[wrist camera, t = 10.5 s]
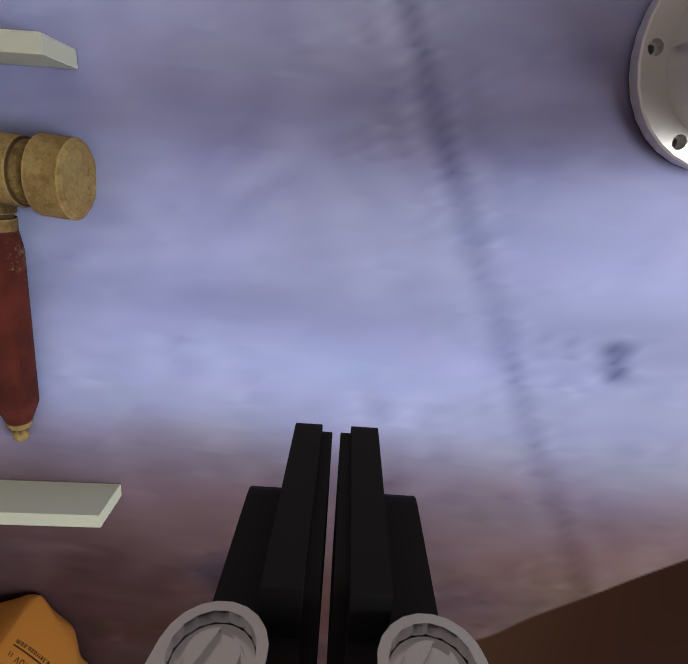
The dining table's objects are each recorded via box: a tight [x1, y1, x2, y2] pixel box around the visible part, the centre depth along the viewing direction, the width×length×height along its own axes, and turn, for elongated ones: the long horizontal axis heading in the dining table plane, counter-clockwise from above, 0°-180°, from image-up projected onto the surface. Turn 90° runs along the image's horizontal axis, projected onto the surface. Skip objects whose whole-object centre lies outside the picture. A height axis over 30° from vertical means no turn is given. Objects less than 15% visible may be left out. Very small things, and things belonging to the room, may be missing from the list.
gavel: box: [0, 132, 96, 442], centre depth 30 cm, size 21×5×10 cm
